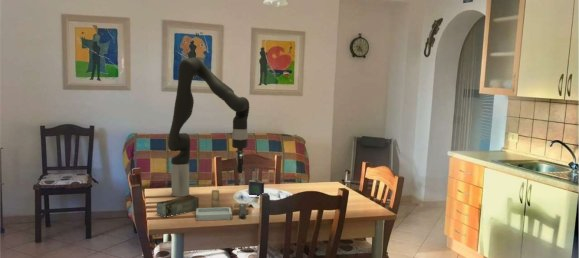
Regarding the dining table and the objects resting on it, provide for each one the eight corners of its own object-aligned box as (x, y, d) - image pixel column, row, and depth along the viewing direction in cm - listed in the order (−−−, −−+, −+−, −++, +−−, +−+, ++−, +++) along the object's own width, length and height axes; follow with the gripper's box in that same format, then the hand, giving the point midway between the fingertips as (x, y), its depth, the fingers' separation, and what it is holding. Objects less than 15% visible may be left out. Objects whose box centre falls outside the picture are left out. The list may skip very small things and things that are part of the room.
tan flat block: (234, 209, 231) (234, 203, 230) (248, 209, 231) (248, 203, 231) (233, 215, 221) (233, 209, 220) (248, 215, 221) (248, 209, 221)
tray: (196, 213, 222) (196, 208, 222) (230, 212, 225) (230, 207, 224) (195, 220, 211) (195, 215, 211) (231, 219, 214) (231, 214, 214)
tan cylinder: (211, 207, 231) (211, 189, 230) (219, 207, 232) (219, 189, 231) (211, 209, 228) (211, 191, 227) (219, 209, 228) (219, 191, 227)
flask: (247, 197, 252) (247, 177, 251) (250, 195, 255) (250, 176, 253) (262, 199, 248) (263, 179, 247) (265, 198, 251) (265, 178, 249)
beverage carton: (155, 214, 219) (155, 201, 218) (189, 206, 233) (189, 193, 233) (165, 218, 214) (165, 204, 213) (199, 210, 228) (199, 196, 227)
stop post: (239, 216, 218) (239, 204, 217) (245, 216, 218) (245, 204, 218) (239, 218, 215) (239, 206, 214) (246, 218, 216) (246, 205, 215)
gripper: (231, 135, 238) (231, 169, 240) (233, 140, 224) (232, 175, 226) (246, 135, 239) (246, 169, 241) (248, 139, 225) (248, 175, 227)
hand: (239, 172), depth 234 cm, fingers open, 3 cm apart
